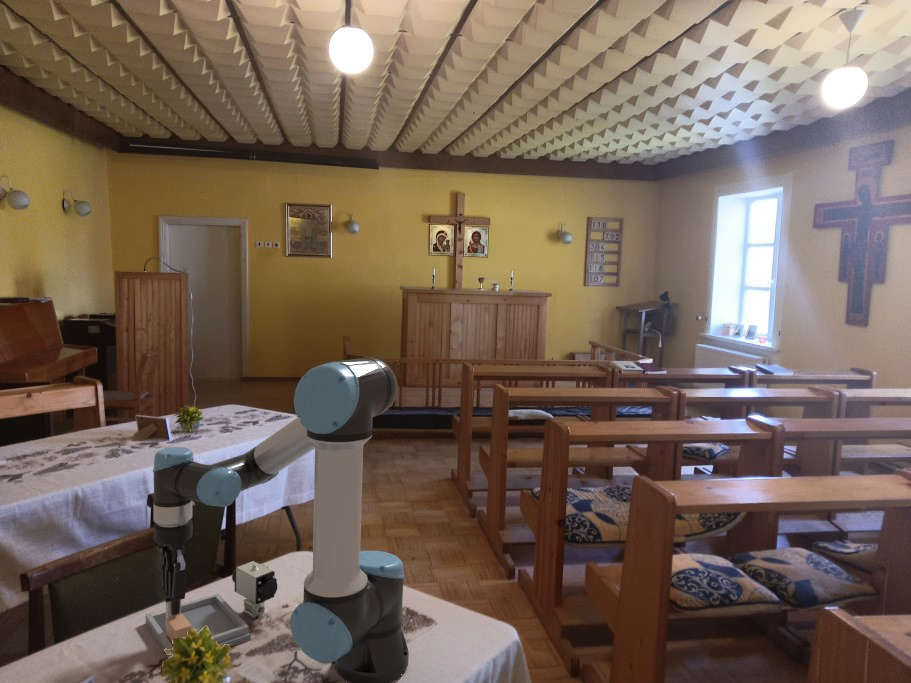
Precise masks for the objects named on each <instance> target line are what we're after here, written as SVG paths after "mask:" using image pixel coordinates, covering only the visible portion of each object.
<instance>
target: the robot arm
mask: <svg viewBox="0 0 911 683" xmlns="http://www.w3.org/2000/svg"><path fill="white" fill-rule="evenodd" d="M397 394H398V380H397V376H396V375H395V373H394V371H393V370H392V369H391V367H390V366H389V365H388V364H387V363H385V362H384V361H382V360H380V359H379V358H376V357H369V356H363V357H357V358H351V359H347V360H339V361H338V360H337V361H330V362H325V363H323V364H319V365H317V366H315V367H312V368H311V369H309V370H308V371H307V372H306V373H305V374H304V375H303V376H302V377H301V378H300V380H299V381H298V384H297V386H296V388H295V392H294V396H293V397H294V398H293V405H294V410H295V411H294V412H295V415H296V418H294V419H293V420H292V421H291V422H289V423H287V424H286V425H285V426H283V427H282V428H279V430H277V431H276V432H274V433H273V434H272V435H270V436H268V437H267V438H266V439H264V440H263V441H261V442H260V443H259V444H257V445H256V446H255V447H253V448H251V449H250V450H249V451H247V452H245V453H243V454H240V455H238V456H233V457H231V458H228V459H225V460H221V461H218V462H216V463H215V462H214V463H212V464H211V463H210V464H207V463H206V464H205V463H199V462H197V461H194V459H195V457H194V455H193V454H194V452H193V451H192V450H191V449H190V448H188V447H184V446H172V447H166V448H162V449H159V450H158V451H156V452H155V454H154V457H153V458H154V461H153V469H152V473H153V523H154V524H153V540H154V542H155V543H157V544H158V546H157V548H158V551H159V558H160V559H159V560H160V562H159V563H160V573H161V589H162V591H164V596H165V598H164V602H165V612H166V618H168V617H172V616H175V615H178V614H181V604H182V600H184V599H185V598H186V591H187V590H186V589H187V579H188V571H189V566H190V560H188V559H187V560H185V557H186V555H187V554H186V553H187V550H186V549H187V548H186V546H185V545H184V544H185V543H186V542H187V541H189V540H190V539H191V538H192V537H193V533H194V532H193V528H194V527H193V524H194V523H193V519H192V518H193V507H194V506H196V504H195V502H198V503H200V504H204V505H207V506H212V507H221V508H224V507H228V506H230V505H232V504H233V503H234V501H235V500H237V498H238V497H239V496H240V493H241V492H244V491H246V490H248V489H250V488H253V487H256V486H258V485H263V484H266V483H268V482H269V481H272V480H273V479H275V478H276V477H277V476H278V475H279V473H280V472H281V471H282V470H283V469H285V468H287V467H289V465H291V464H293V463H294V462H296V461H297V460H299V459H301V458H302V457H304V456H306V454H309V453H310V452H311V451H313V450H314V484H313V486H314V487H313V488H314V492H313V533H312V534H313V535H312V536H313V539H312V548H313V549H312V552H313V553H312V571H310V572H309V573H308V574H307V575H306V576H305V578H304V581H303V601H302V602H301V603H299V604H298V605H297V606H296V607H295V609H294V610H293V612H292V613H291V615H290V620H289V626H290V632H291V635H292V639H293V640H294V643H296V646H298V648H300V649H301V652H303V653H304V655H306V656H307V657H308V658H310V659H312V660H314V661H316V662H319V663H322V664H323V663H325V664H327V663H333V662H335V664H334V667H335V670H336V673H337V674H338V676H340V677H341V678H342V679H343V680H345V681H347V682H349V683H391V682H393V681H395V680H397V679H399V678H400V677H401V676H402V675H404V673H405V672H406V671H407V669H408V667H409V661H410V660H409V658H410V657H409V655H410V654H409V647H408V645H407V642H406V638H405V634H404V631H403V628H402V620H403V619H402V617H403V596H404V592H403V591H404V579H405V575H404V563H403V561H402V560H401V559H400V557H398V556H397V555H396V554H392V553H391V552H390V553H389V552H387V551H386V552H385V551H380V550H361V544H362V543H361V542H362V541H361V540H362V539H361V537H362V535H361V534H362V533H361V532H362V504H363V502H362V500H363V499H362V498H363V469H364V468H363V467H364V466H363V464H364V463H363V462H364V445H365V444H366V443H368V441H369V440H370V439H371V438H372V437H373V418H375V417H377V416H380V415H381V414H384V413H385V412H386V411H388V410H389V408H390V407H392V405H393V404H394V402H395V400H396V398H397ZM407 666H408V667H407ZM406 668H407V669H406ZM405 670H406V671H405ZM404 671H405V672H404ZM403 672H404V673H403ZM401 674H402V675H401ZM398 677H399V678H398Z"/></svg>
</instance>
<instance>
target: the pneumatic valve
mask: <svg viewBox="0 0 911 683" xmlns="http://www.w3.org/2000/svg"><path fill="white" fill-rule="evenodd" d="M275 573H276V572H275V571H274V570H272V569H270V567H269V566H268V565H267V566H266V564H260V563H259V562H255V561H254V560H252V559H251V560H248V561H246V562H243V563H241V564H238V565H236V566H234V570H233V571H232V575H231V580H232V582H233V583H234V592H235V593H237V594H238V595H240V596H242V597H244V598H245V599H244V600H243V607H244V609H243V613H244V614H245V615H247V616H248V617H250V618H252V619H254V618H256V617H257V616H261V615H263V614H264V613H265V609H266V607H265V605H264V604H265V602H266V601H268V600H270V599H273V598H275V595H276V593H277V592H278V591H277V590H278V579H277V578H275V577H276V575H275Z"/></svg>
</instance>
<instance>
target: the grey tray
mask: <svg viewBox="0 0 911 683" xmlns="http://www.w3.org/2000/svg"><path fill="white" fill-rule="evenodd" d="M181 613H182V614H183V615H184V616H185V618H186V619H187V620H188V622H189V623H190V624H191V628H195V629H196V630H197V632H199V631H200V630H201V629H202V628H203V627H204V626H205V625H207V626H208V628H209V630H210V632H211V633H212V634H213V637H214V639H215V640H216V641H217V643H218V644H219V645H224V644H230V645H231V647H233V646H237V645H239V644H242V643H245V642H248V641H251V633H249V632H250V631H249V630H250V629H249V628H250V627H249V625H248V624H247V623H246V622H245V621H244V620H243V618H241V616H240V615H239V614H238V613H237V612H236V611H235V610H234V609H233V608H232V607H231V605H230V604H228V603H227V601H226V600H225V599H224V598H223V597H222V596H221V594H220V593H215V594H212V595H209V596H206V597H205V596H204V597H203V598H199V599H194V600H192V601H188V602H184V603H181ZM145 625H146V626H148V627H147V628H148V629H149V631H150V633H151V634H152V635H153V637H154V639H155V640H156V642H157V644H158V645H159V647H160V648H161V650H162V651H163V649H165V648H167V649H172V648H173V646H172V644H171V643H170V641H169V640H168V638H167V637H166V611H165V612H162V613H160V614H159V613H158V614H155V615H153V614H152V613H151V612H148V613H146V614H145ZM169 656H172V655H166V654H165V657H166V658H168V657H169Z"/></svg>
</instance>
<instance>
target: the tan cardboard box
mask: <svg viewBox="0 0 911 683" xmlns="http://www.w3.org/2000/svg"><path fill="white" fill-rule="evenodd" d="M190 628H191V624H190V623H189V622H188V620H187V619H186V618H185V616H184V615H183V614H182V613H181V614H178V615H175V616H172V617H168V618H166V637H167V638H168V640H169V641H170V643H171V644H172V639H173V638H175V637H186V636H187V631H188V629H190ZM172 646H173V644H172Z"/></svg>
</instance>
